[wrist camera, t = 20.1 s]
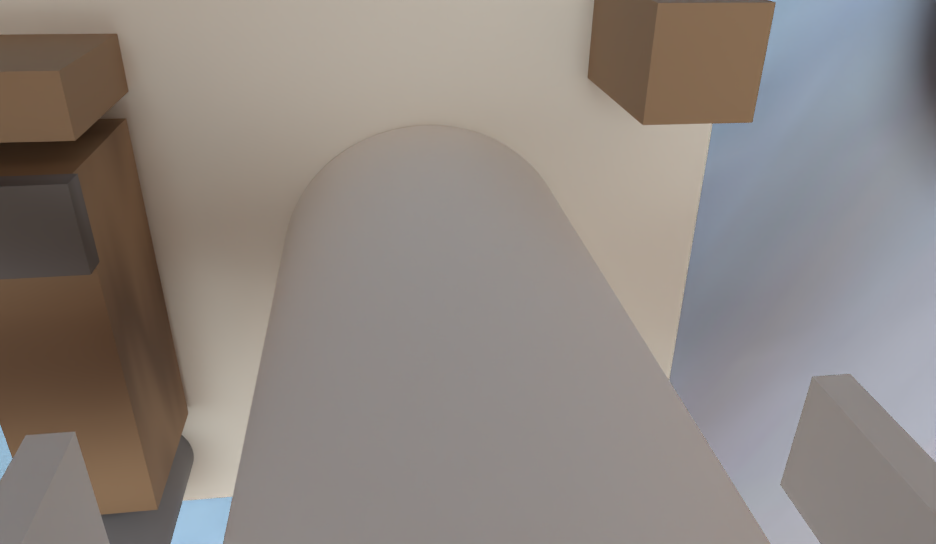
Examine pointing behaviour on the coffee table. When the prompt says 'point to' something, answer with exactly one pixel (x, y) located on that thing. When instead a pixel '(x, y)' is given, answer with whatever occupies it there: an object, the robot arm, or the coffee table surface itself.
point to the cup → (461, 372)
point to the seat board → (360, 117)
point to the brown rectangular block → (87, 314)
